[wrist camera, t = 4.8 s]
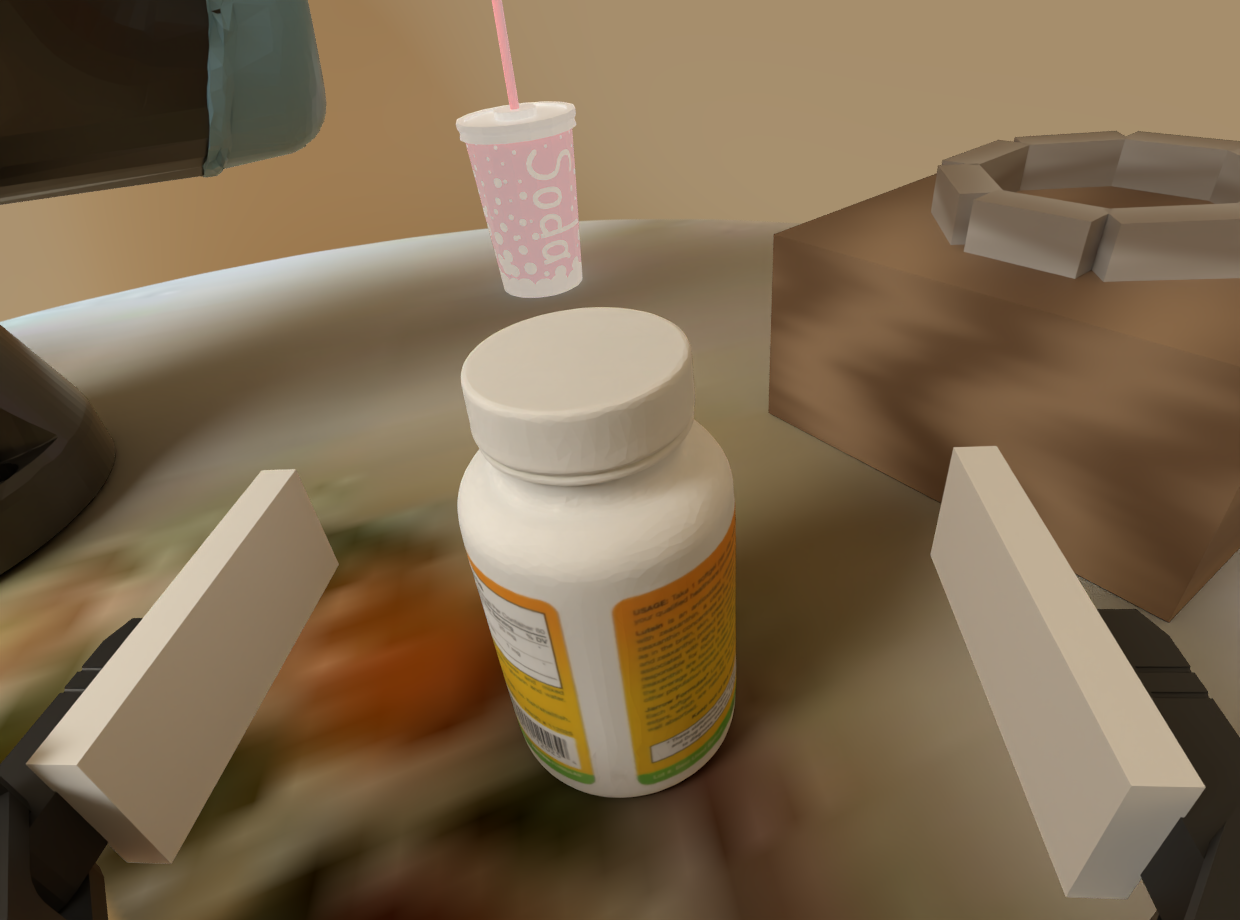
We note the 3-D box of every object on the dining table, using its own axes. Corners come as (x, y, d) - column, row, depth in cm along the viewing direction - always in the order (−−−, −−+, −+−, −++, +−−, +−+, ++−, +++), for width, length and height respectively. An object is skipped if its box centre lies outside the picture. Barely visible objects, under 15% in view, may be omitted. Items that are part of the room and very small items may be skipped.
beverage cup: (502, 312, 38) (438, 6, 30) (482, 275, 43) (423, 3, 35) (609, 288, 40) (576, -12, 32) (578, 255, 44) (543, -13, 36)
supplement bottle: (730, 617, 20) (727, 281, 14) (743, 808, 15) (746, 433, 10) (539, 618, 20) (462, 297, 15) (499, 803, 16) (367, 447, 10)
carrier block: (768, 412, 28) (775, 188, 23) (980, 301, 34) (1021, 105, 29) (1168, 622, 18) (1330, 311, 13) (1366, 415, 24) (1527, 148, 19)
